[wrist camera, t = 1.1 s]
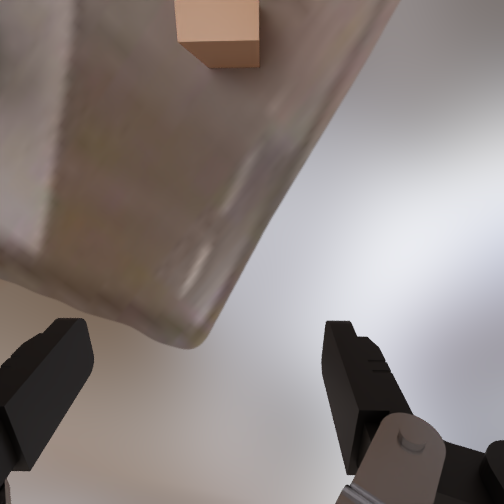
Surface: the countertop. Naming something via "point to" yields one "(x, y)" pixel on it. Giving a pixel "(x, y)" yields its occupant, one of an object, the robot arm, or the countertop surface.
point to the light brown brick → (220, 31)
